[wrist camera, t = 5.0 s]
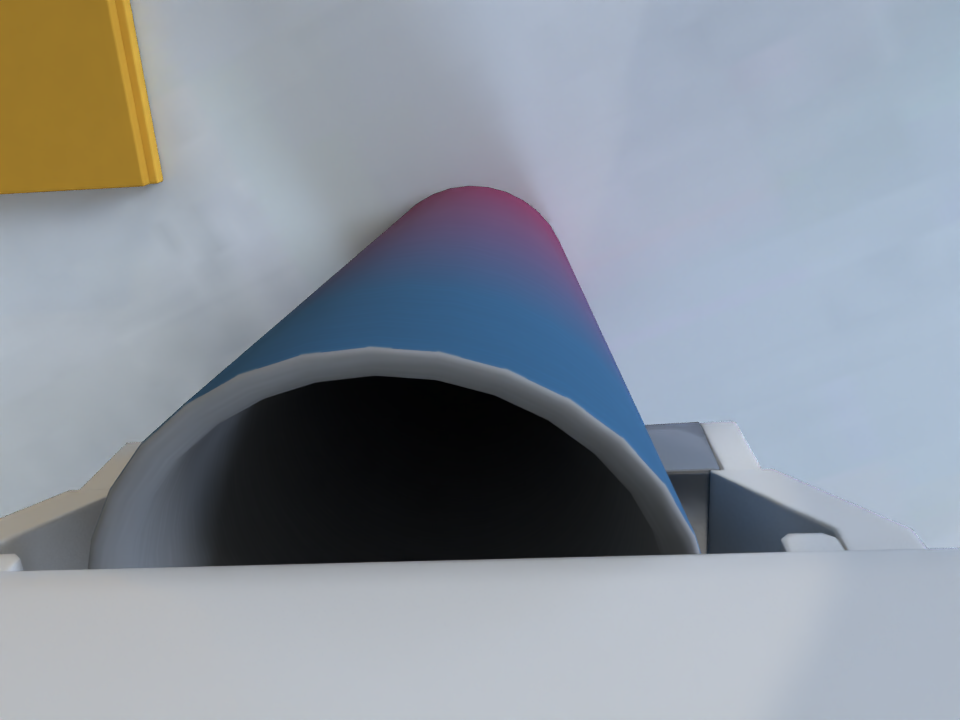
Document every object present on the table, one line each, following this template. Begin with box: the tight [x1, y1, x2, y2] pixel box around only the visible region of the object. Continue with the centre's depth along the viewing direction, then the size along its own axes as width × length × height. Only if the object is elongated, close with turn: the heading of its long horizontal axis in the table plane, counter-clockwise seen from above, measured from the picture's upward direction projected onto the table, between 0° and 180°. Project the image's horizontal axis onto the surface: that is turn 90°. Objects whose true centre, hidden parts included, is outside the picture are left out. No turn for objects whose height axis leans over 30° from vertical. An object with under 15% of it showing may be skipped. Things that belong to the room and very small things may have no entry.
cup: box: [88, 186, 701, 569], centre depth 16 cm, size 7×7×15 cm
